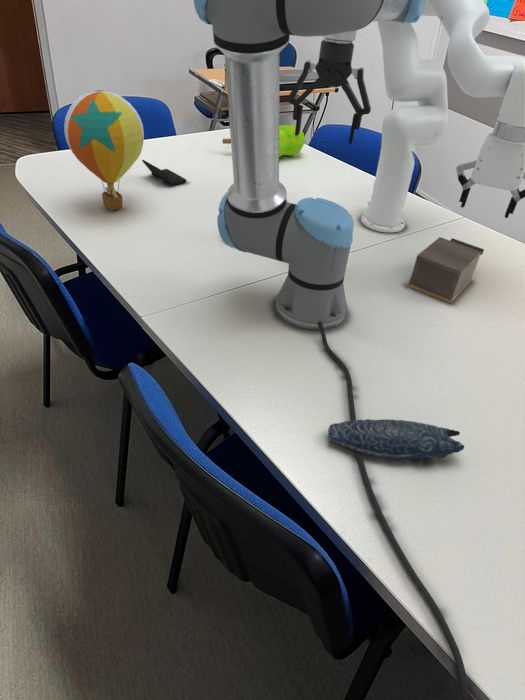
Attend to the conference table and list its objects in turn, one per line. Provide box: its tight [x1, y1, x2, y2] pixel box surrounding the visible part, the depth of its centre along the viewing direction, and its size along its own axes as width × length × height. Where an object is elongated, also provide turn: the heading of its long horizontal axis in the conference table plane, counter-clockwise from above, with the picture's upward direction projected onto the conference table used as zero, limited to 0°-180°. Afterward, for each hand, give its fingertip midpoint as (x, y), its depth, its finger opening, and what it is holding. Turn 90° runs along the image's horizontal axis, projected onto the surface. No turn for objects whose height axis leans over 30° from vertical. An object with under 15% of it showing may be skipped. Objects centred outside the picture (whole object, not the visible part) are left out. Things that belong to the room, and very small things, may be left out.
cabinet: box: [407, 236, 482, 304], centre depth 123 cm, size 13×11×8 cm
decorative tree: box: [222, 124, 306, 158], centre depth 186 cm, size 18×10×30 cm
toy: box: [63, 89, 145, 212], centre depth 136 cm, size 20×20×30 cm
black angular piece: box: [141, 159, 187, 187], centre depth 162 cm, size 12×7×10 cm
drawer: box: [450, 237, 485, 256], centre depth 127 cm, size 18×9×6 cm, turn 142°
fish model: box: [327, 418, 465, 461], centre depth 82 cm, size 7×21×5 cm, turn 84°
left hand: (323, 138), depth 130 cm, fingers open, 13 cm apart
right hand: (484, 210), depth 117 cm, fingers open, 9 cm apart
